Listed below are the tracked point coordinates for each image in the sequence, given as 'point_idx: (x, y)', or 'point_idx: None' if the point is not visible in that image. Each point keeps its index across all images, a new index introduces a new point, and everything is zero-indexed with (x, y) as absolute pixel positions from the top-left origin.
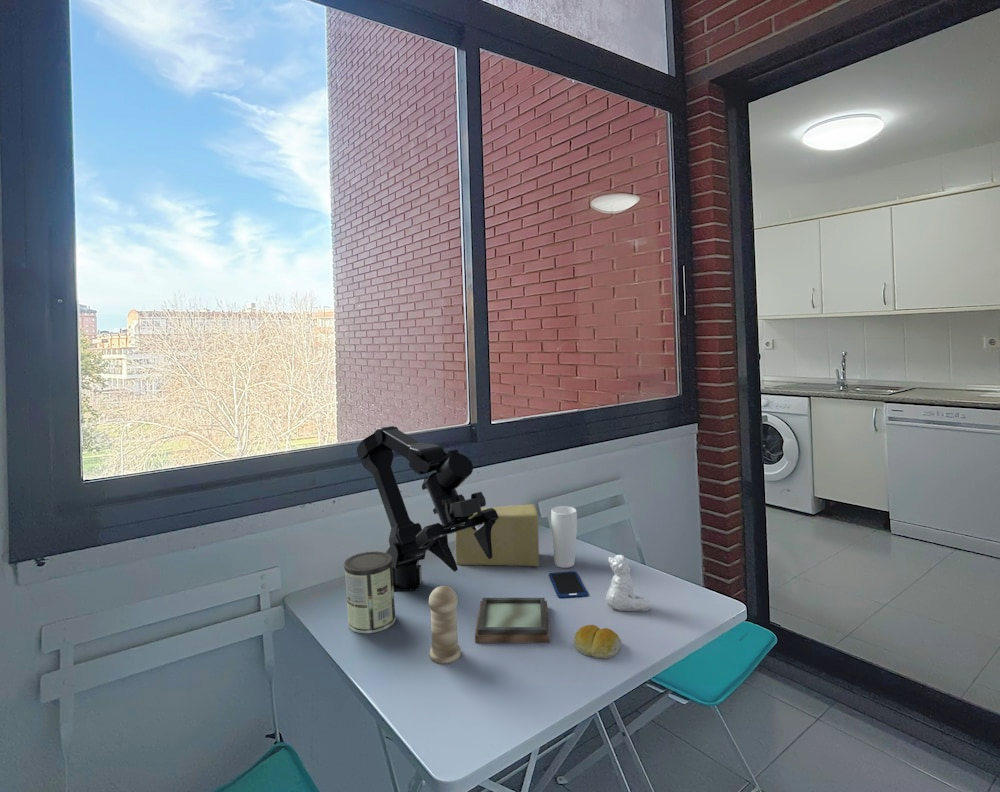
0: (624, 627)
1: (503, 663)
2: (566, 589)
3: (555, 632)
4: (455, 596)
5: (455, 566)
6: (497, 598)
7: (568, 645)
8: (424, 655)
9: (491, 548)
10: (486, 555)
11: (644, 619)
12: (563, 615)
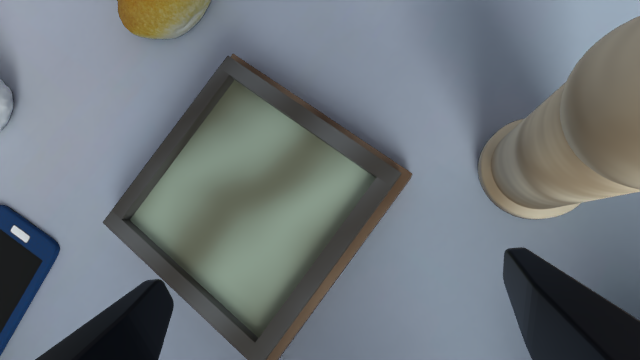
0: (62, 27)
1: (399, 43)
2: (10, 270)
3: (196, 96)
4: (623, 28)
5: (534, 262)
6: (219, 323)
7: (213, 29)
8: (596, 208)
9: (87, 324)
10: (161, 341)
11: (6, 32)
12: (121, 157)
